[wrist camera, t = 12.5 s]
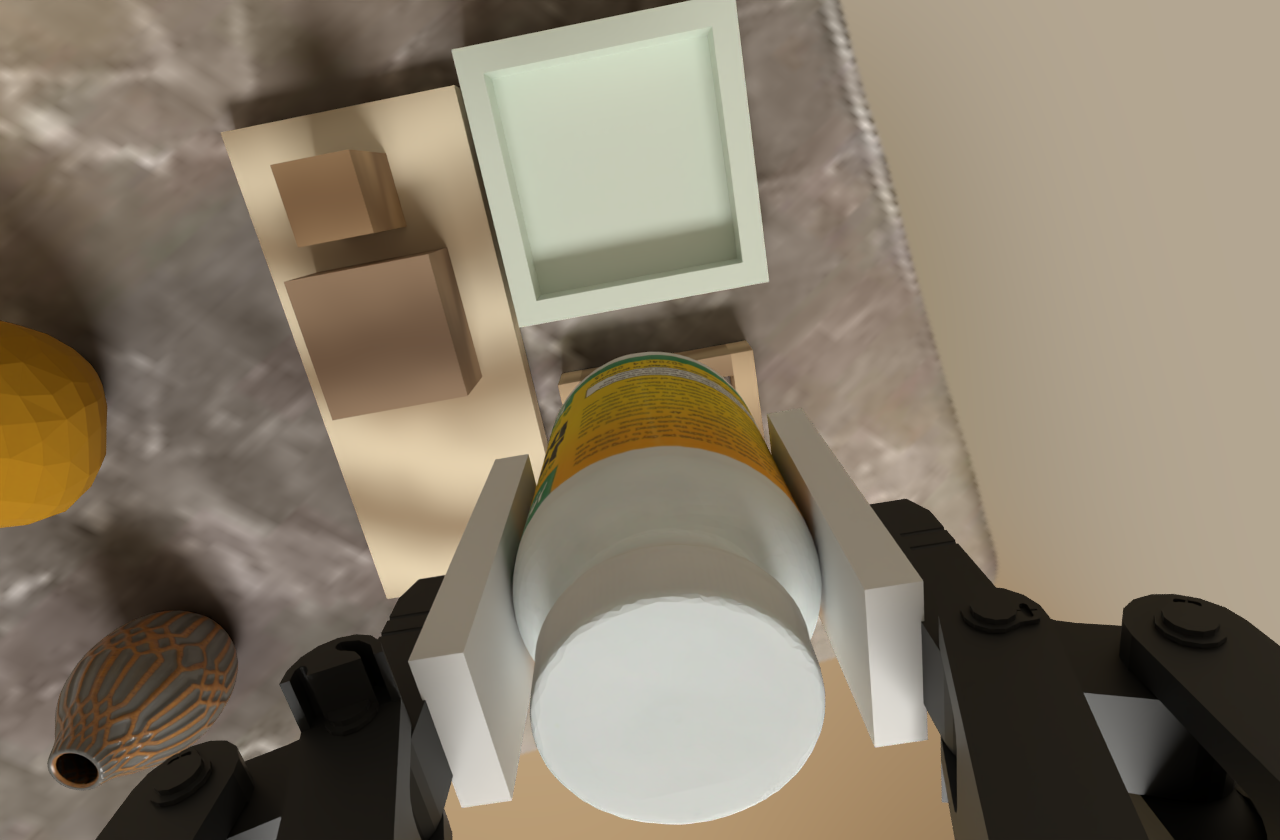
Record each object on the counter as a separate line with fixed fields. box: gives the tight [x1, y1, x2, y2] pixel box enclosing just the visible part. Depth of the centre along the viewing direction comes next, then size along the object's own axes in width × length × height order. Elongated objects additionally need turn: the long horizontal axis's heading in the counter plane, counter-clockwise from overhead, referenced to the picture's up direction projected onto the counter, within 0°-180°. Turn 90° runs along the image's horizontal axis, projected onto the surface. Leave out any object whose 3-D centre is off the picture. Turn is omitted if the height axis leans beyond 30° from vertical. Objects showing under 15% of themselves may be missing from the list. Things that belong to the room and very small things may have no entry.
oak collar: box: [558, 340, 765, 441], centre depth 33 cm, size 9×9×2 cm
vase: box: [48, 611, 238, 790], centre depth 34 cm, size 7×7×9 cm
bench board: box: [221, 85, 548, 599], centre depth 31 cm, size 23×10×5 cm, turn 10°
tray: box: [451, 0, 769, 328], centre depth 29 cm, size 11×11×2 cm
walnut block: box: [284, 247, 482, 420], centre depth 30 cm, size 6×6×3 cm
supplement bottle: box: [513, 352, 825, 824], centre depth 14 cm, size 5×5×10 cm
